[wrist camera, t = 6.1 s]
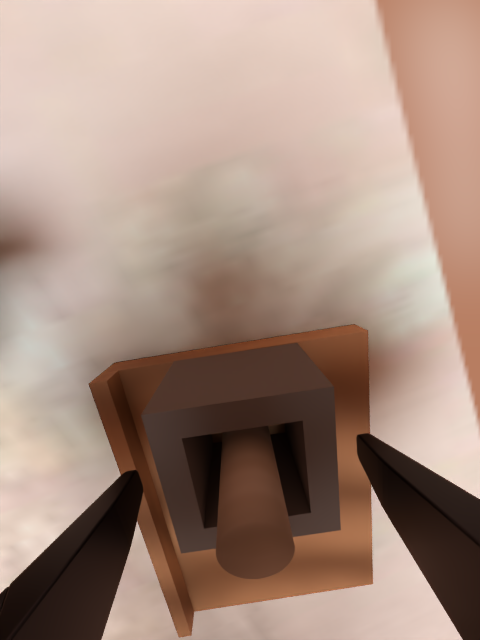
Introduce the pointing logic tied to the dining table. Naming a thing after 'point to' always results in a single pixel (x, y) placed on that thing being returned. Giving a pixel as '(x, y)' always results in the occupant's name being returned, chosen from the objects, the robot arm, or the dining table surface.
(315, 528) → the gray square frame
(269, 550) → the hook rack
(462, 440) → the dining table surface
